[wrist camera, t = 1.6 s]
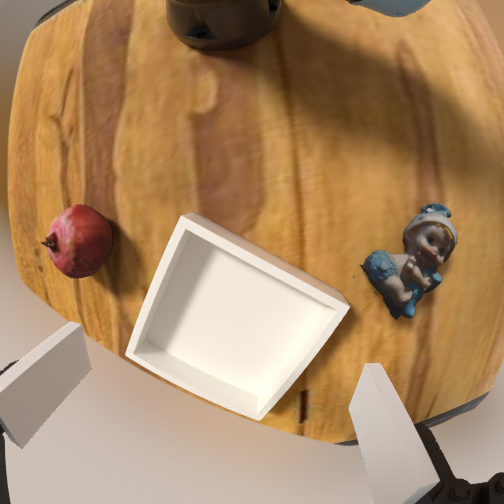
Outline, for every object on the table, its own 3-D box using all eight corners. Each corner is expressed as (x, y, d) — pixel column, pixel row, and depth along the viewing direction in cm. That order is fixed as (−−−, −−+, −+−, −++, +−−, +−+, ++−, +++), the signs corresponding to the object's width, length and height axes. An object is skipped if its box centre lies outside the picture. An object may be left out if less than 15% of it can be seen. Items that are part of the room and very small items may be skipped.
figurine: (350, 277, 26) (452, 184, 21) (349, 266, 34) (430, 193, 29) (396, 339, 25) (493, 249, 20) (386, 316, 33) (465, 244, 28)
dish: (139, 337, 36) (124, 355, 31) (194, 211, 31) (181, 215, 27) (261, 398, 37) (259, 421, 32) (339, 290, 32) (350, 306, 28)
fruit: (131, 260, 33) (88, 284, 24) (82, 274, 34) (38, 297, 25) (113, 193, 32) (64, 197, 22) (66, 215, 33) (18, 224, 23)
